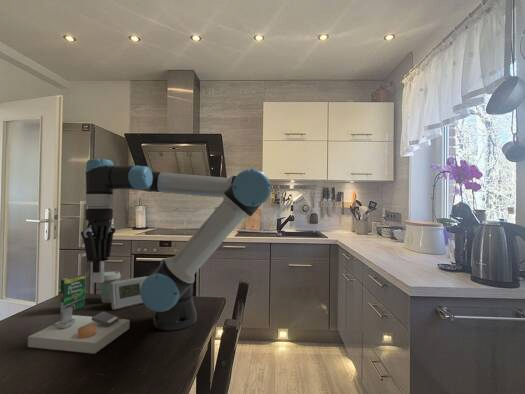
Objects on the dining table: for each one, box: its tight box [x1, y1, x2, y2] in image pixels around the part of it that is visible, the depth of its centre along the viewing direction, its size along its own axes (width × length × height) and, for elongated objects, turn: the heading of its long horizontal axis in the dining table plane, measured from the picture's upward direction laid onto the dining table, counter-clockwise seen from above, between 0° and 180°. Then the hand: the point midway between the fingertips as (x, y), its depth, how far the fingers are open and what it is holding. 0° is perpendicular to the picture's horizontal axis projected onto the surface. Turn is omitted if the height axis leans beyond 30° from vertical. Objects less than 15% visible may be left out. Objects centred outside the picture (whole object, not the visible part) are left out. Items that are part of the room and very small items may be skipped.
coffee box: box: [59, 274, 86, 312], centre depth 109 cm, size 8×3×13 cm, turn 149°
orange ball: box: [78, 325, 97, 339], centre depth 83 cm, size 5×5×5 cm
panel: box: [27, 314, 131, 354], centre depth 87 cm, size 22×16×4 cm
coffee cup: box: [99, 271, 122, 304], centre depth 120 cm, size 8×8×12 cm
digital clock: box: [110, 275, 149, 310], centre depth 116 cm, size 16×9×11 cm, turn 123°
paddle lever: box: [56, 307, 75, 328], centre depth 88 cm, size 3×4×5 cm
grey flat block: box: [91, 311, 121, 327], centre depth 91 cm, size 6×5×1 cm
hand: (98, 281), depth 86 cm, fingers closed
